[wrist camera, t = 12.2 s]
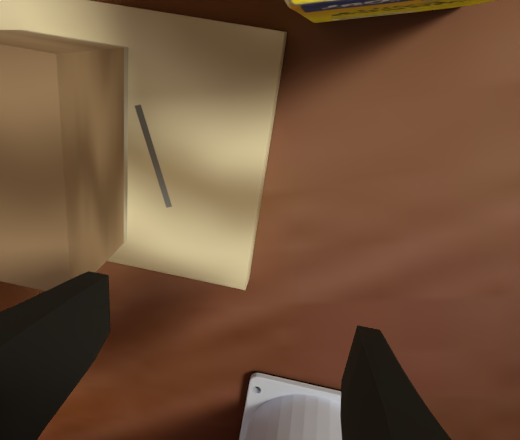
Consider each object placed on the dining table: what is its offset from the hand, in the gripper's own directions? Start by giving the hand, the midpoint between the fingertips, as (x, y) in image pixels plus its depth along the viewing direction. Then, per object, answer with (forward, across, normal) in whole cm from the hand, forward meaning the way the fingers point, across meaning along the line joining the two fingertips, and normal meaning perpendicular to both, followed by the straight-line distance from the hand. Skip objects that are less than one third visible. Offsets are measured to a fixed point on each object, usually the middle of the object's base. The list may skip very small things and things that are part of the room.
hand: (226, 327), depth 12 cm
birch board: (+9, +9, -2) cm, 13 cm away
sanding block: (+8, +9, -2) cm, 12 cm away
